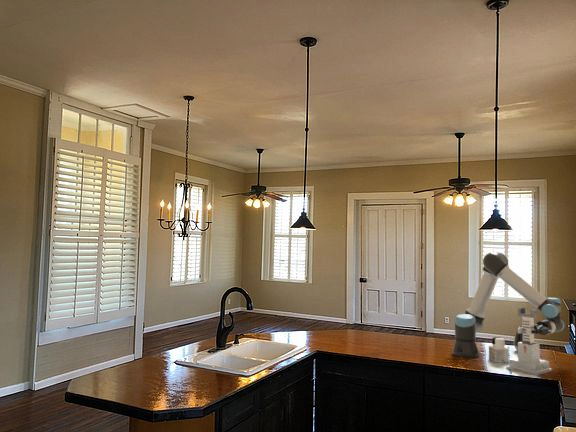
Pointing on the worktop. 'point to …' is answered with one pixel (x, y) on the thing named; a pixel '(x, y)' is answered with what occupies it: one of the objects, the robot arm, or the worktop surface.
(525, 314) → the jack stand column
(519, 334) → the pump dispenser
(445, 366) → the worktop surface
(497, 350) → the container
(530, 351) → the jack stand base
